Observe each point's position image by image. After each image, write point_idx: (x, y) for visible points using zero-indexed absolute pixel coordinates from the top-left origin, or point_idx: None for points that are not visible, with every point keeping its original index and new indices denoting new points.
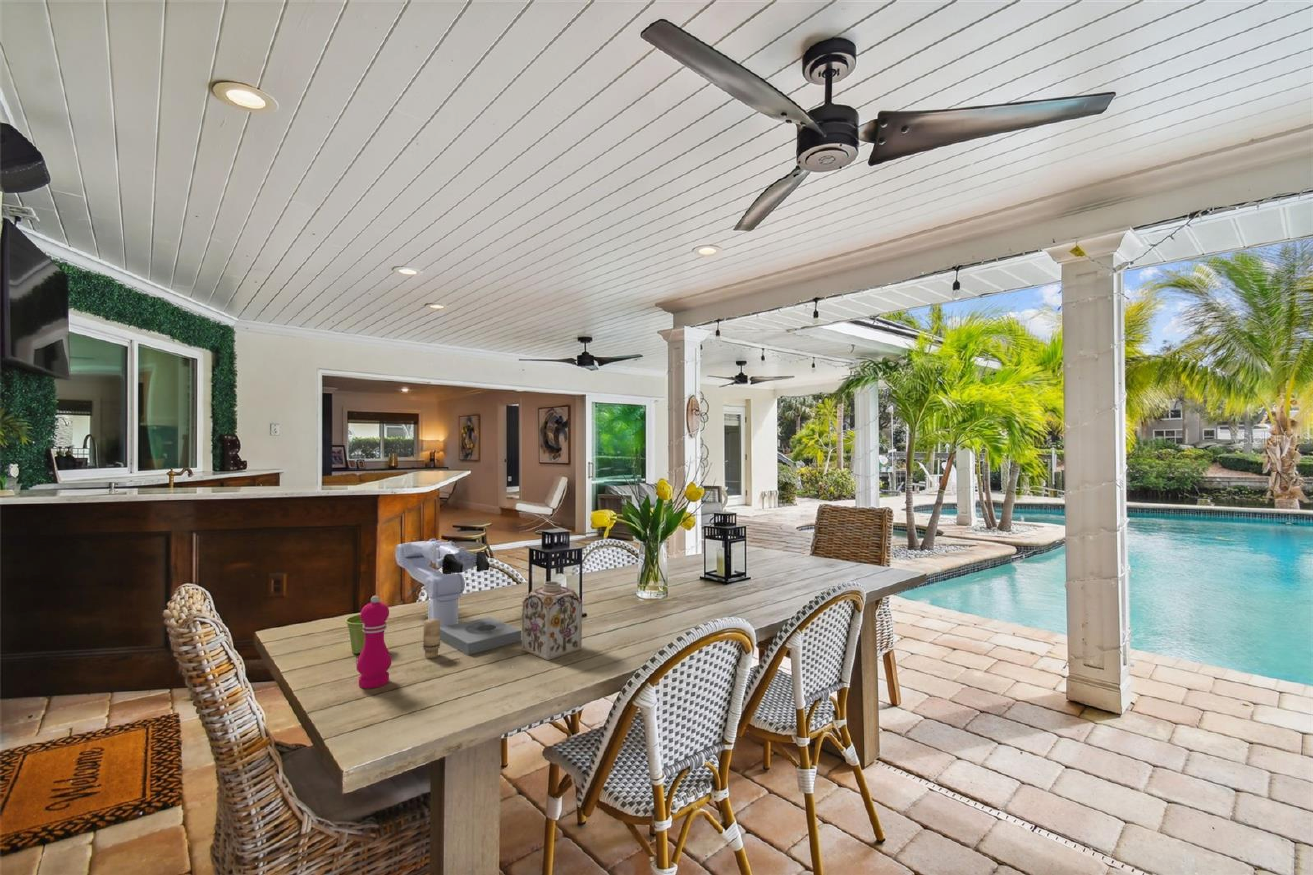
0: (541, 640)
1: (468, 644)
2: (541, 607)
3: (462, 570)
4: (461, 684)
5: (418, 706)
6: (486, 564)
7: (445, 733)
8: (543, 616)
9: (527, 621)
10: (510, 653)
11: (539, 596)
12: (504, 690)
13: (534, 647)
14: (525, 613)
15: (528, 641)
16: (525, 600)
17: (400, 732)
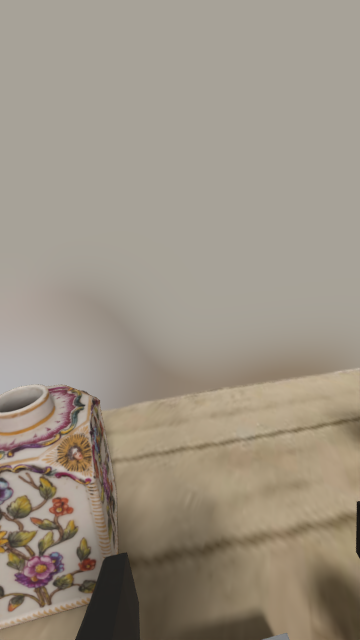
0: (110, 481)
1: (284, 635)
2: (98, 414)
3: (357, 539)
4: (294, 466)
5: (354, 428)
6: (129, 574)
7: (304, 378)
8: (102, 426)
9: (104, 502)
10: (157, 590)
11: (91, 397)
12: (229, 426)
13: (114, 522)
14: (101, 492)
15: (112, 541)
16: (93, 460)
17: (355, 390)
